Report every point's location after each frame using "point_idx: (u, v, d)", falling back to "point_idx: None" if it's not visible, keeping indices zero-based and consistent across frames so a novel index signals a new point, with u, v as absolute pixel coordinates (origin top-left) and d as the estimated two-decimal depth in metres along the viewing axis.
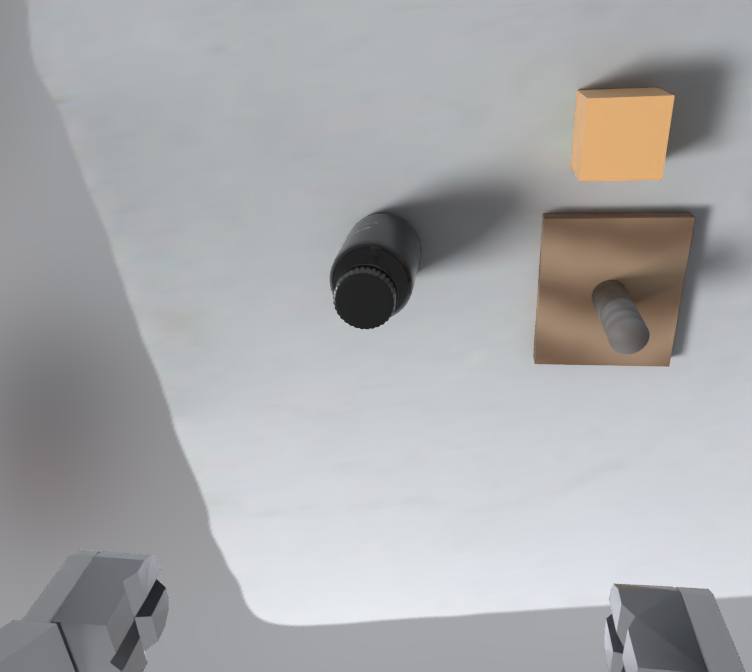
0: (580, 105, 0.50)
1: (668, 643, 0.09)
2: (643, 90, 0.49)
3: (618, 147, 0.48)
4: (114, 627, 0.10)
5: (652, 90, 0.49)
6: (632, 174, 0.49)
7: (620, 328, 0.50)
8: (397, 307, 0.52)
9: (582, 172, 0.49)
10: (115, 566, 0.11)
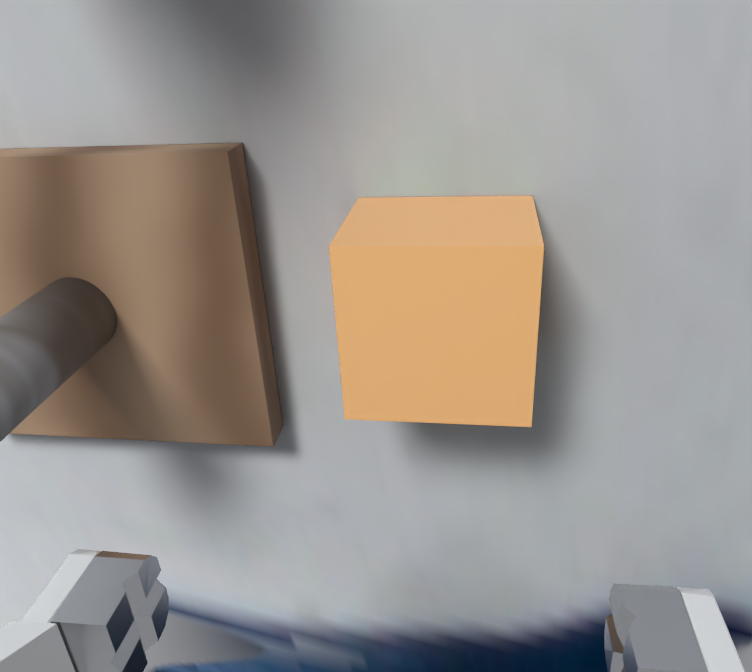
0: (508, 215, 0.20)
1: (668, 643, 0.09)
2: None
3: (417, 328, 0.19)
4: (114, 627, 0.10)
5: None
6: (353, 361, 0.20)
7: None
8: None
9: (352, 250, 0.19)
10: (115, 566, 0.11)
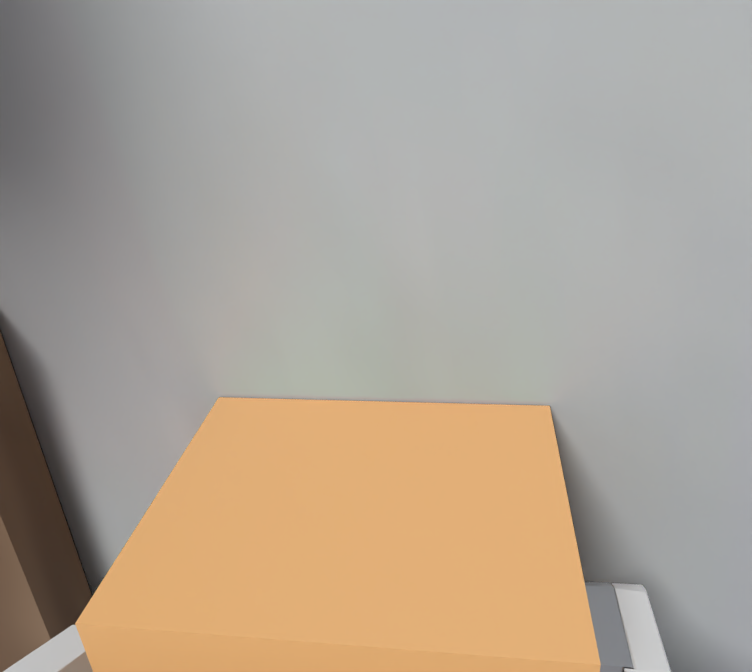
0: (505, 489, 0.09)
1: (597, 638, 0.10)
2: None
3: None
4: None
5: None
6: None
7: None
8: None
9: (131, 635, 0.08)
10: None
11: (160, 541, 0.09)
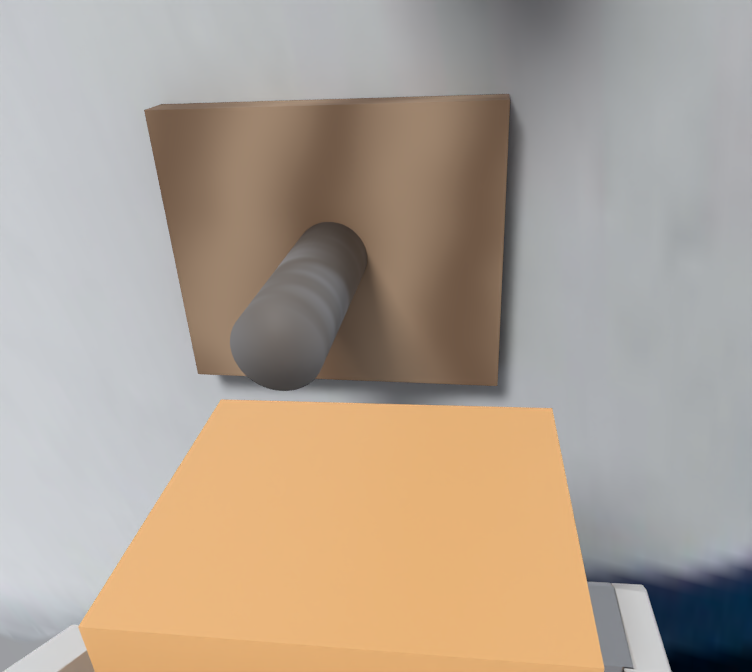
0: (508, 491, 0.09)
1: None
2: None
3: None
4: None
5: None
6: None
7: (296, 329, 0.20)
8: None
9: (134, 639, 0.08)
10: None
11: (163, 544, 0.09)
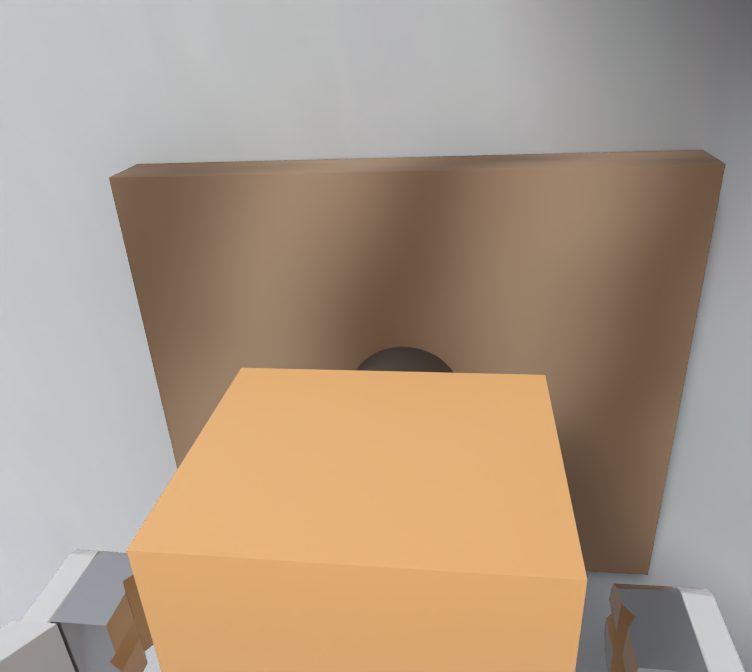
0: (505, 443, 0.11)
1: (668, 643, 0.09)
2: None
3: None
4: (114, 627, 0.10)
5: None
6: None
7: None
8: None
9: (176, 561, 0.09)
10: (115, 566, 0.11)
11: (196, 485, 0.10)
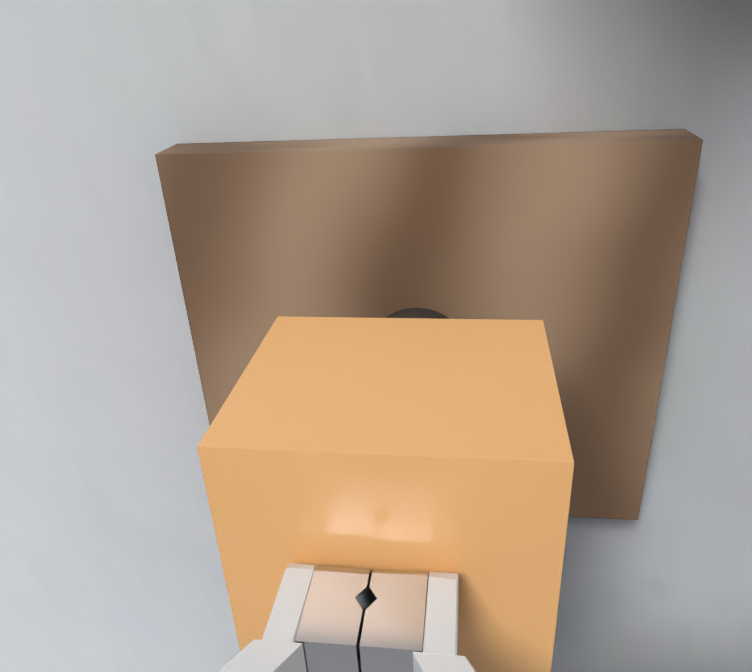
0: (508, 370, 0.12)
1: (396, 623, 0.10)
2: None
3: None
4: (358, 647, 0.10)
5: None
6: (254, 610, 0.12)
7: None
8: None
9: (237, 455, 0.11)
10: (340, 581, 0.11)
11: (249, 402, 0.12)
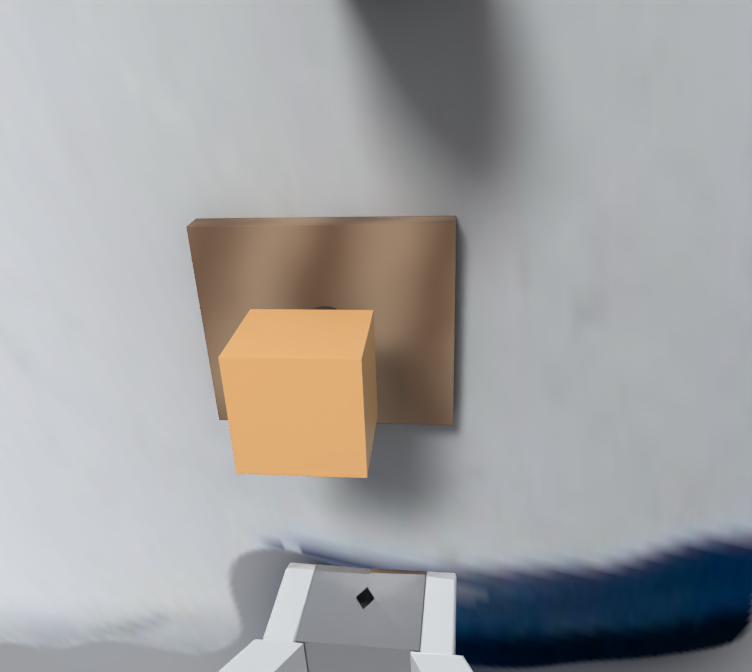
0: (349, 330, 0.29)
1: (394, 622, 0.10)
2: (373, 411, 0.31)
3: (282, 411, 0.28)
4: None
5: (373, 424, 0.32)
6: (240, 434, 0.29)
7: None
8: None
9: (234, 360, 0.27)
10: (341, 581, 0.11)
11: (238, 342, 0.28)
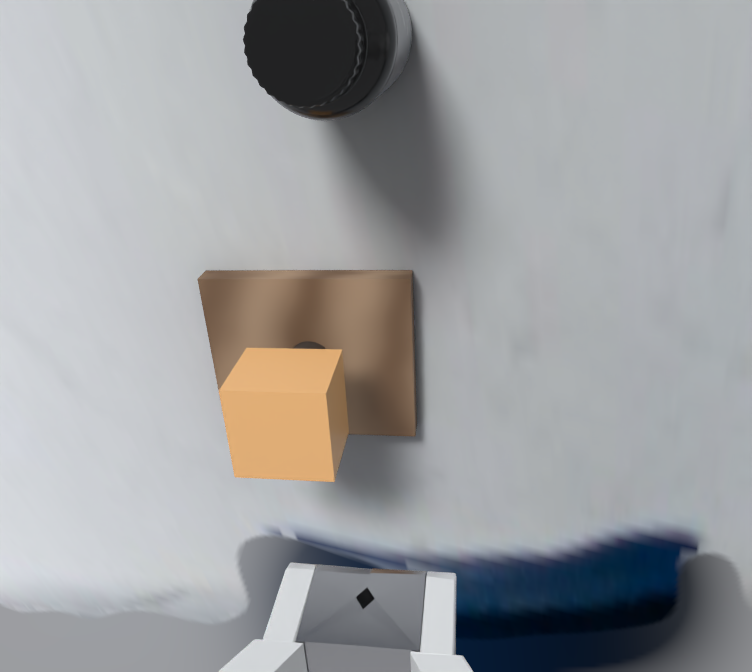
0: (320, 367, 0.37)
1: (394, 623, 0.10)
2: (342, 428, 0.40)
3: (268, 431, 0.37)
4: None
5: (342, 439, 0.40)
6: (236, 447, 0.37)
7: None
8: None
9: (231, 393, 0.36)
10: (341, 581, 0.11)
11: (234, 378, 0.37)
